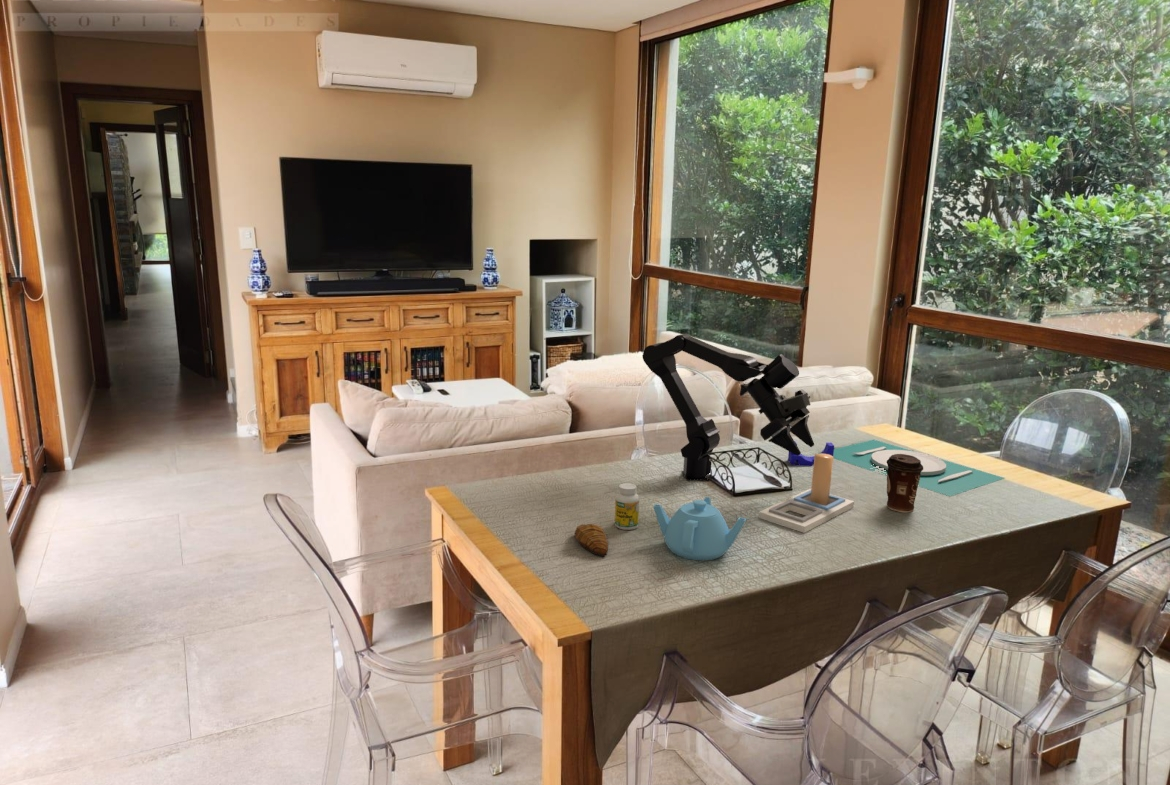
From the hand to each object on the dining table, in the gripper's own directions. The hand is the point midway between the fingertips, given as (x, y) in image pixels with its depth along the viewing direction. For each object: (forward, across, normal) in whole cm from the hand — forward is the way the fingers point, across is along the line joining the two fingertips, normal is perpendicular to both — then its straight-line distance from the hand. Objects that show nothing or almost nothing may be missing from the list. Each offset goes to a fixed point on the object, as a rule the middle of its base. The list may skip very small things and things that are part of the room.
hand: (806, 450), depth 200 cm
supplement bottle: (-8, -41, +28) cm, 50 cm away
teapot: (+4, -41, +15) cm, 44 cm away
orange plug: (+13, 0, +6) cm, 14 cm away
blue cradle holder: (+3, +32, +16) cm, 36 cm away
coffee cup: (+24, +12, -5) cm, 28 cm away
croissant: (-9, -54, +28) cm, 62 cm away
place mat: (+20, +49, +1) cm, 53 cm away
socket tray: (+12, -6, +7) cm, 15 cm away
